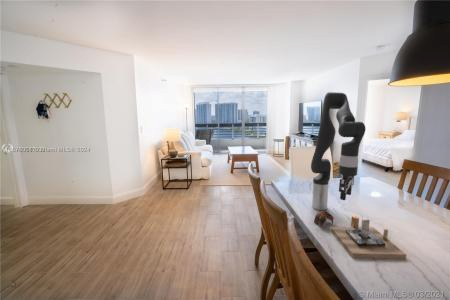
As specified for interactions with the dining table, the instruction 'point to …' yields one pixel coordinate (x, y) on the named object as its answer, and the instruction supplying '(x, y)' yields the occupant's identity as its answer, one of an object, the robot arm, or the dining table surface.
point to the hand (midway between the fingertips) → (345, 197)
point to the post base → (367, 251)
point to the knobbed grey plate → (356, 235)
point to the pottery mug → (323, 217)
